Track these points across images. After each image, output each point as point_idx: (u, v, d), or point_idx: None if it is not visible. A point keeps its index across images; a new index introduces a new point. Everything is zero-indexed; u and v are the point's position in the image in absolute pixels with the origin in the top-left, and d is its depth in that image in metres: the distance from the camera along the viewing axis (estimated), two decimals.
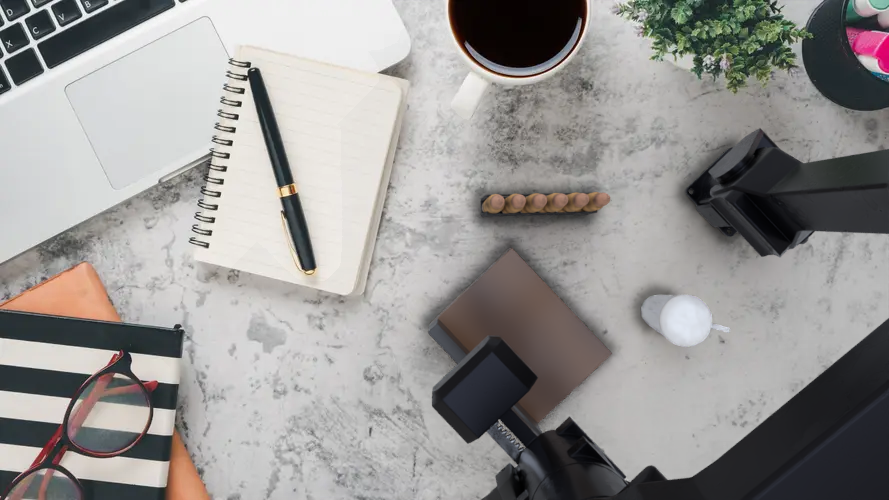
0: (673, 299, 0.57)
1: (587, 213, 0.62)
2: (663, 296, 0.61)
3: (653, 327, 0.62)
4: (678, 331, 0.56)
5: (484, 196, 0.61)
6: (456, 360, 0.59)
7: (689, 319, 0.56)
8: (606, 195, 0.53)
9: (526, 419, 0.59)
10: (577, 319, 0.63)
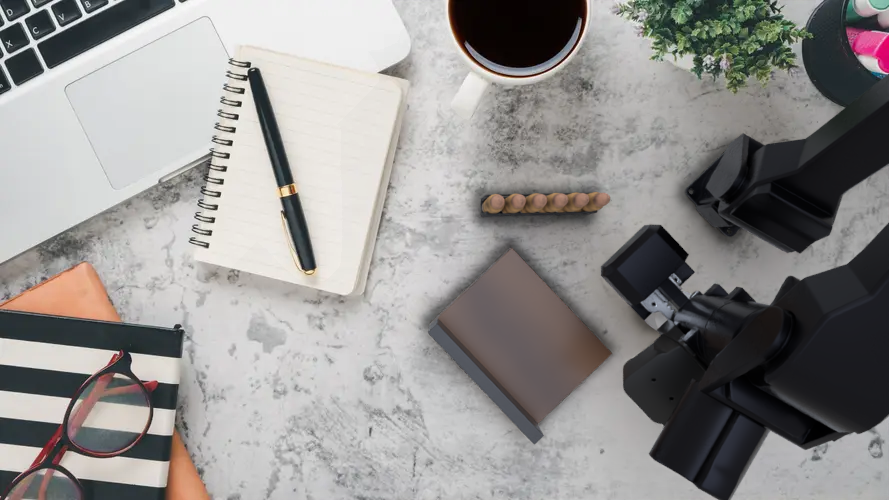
0: None
1: (587, 213, 0.62)
2: None
3: (652, 326, 0.62)
4: None
5: (484, 196, 0.61)
6: (456, 360, 0.59)
7: None
8: (606, 195, 0.53)
9: (526, 419, 0.59)
10: (577, 319, 0.63)
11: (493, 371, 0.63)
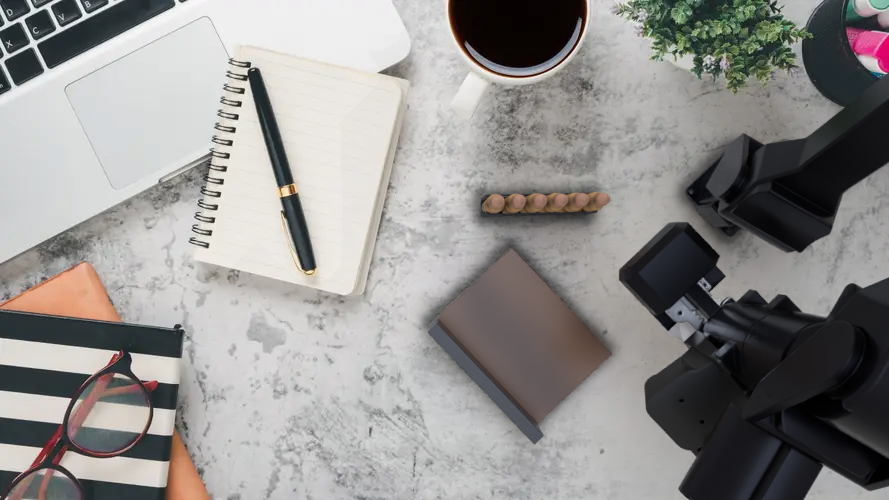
0: None
1: (587, 213, 0.62)
2: None
3: (674, 335, 0.56)
4: None
5: (484, 196, 0.61)
6: (456, 360, 0.59)
7: None
8: (606, 195, 0.53)
9: (526, 419, 0.59)
10: (577, 319, 0.63)
11: (493, 371, 0.63)
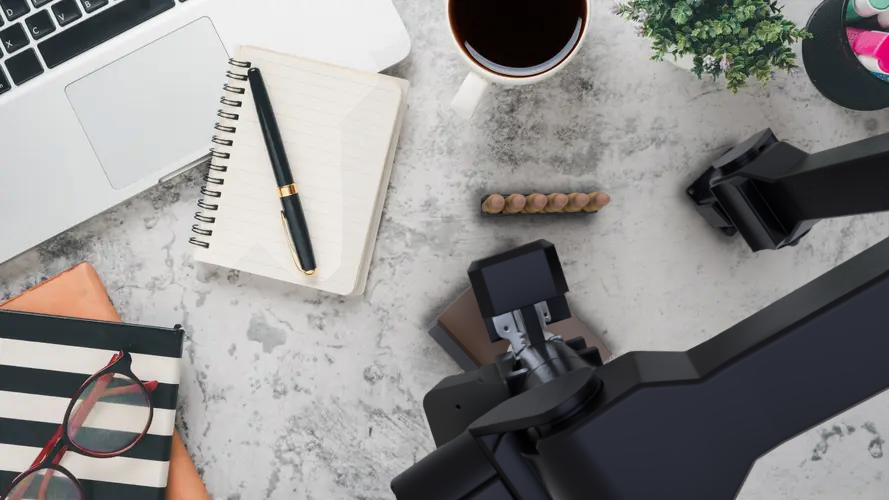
0: None
1: (587, 213, 0.62)
2: None
3: None
4: None
5: (484, 196, 0.61)
6: (456, 360, 0.59)
7: None
8: (606, 195, 0.53)
9: None
10: (577, 319, 0.63)
11: None
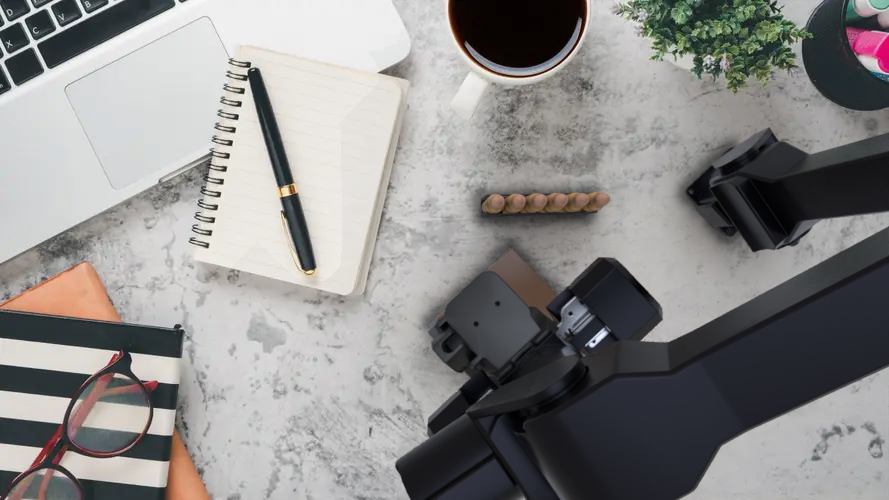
0: None
1: (587, 213, 0.62)
2: None
3: None
4: None
5: (484, 196, 0.61)
6: None
7: None
8: (606, 195, 0.53)
9: None
10: None
11: None
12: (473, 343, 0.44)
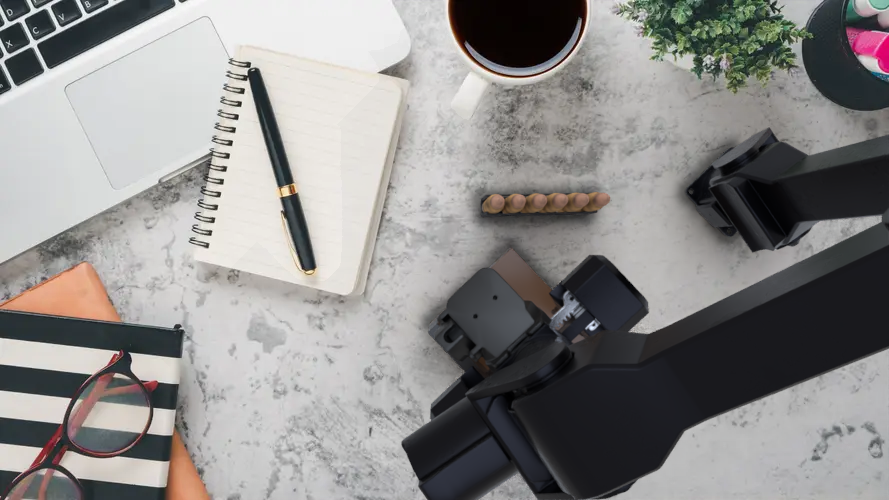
0: None
1: (587, 213, 0.62)
2: None
3: None
4: None
5: (484, 196, 0.61)
6: (456, 360, 0.59)
7: None
8: (606, 195, 0.53)
9: None
10: None
11: None
12: (473, 334, 0.48)
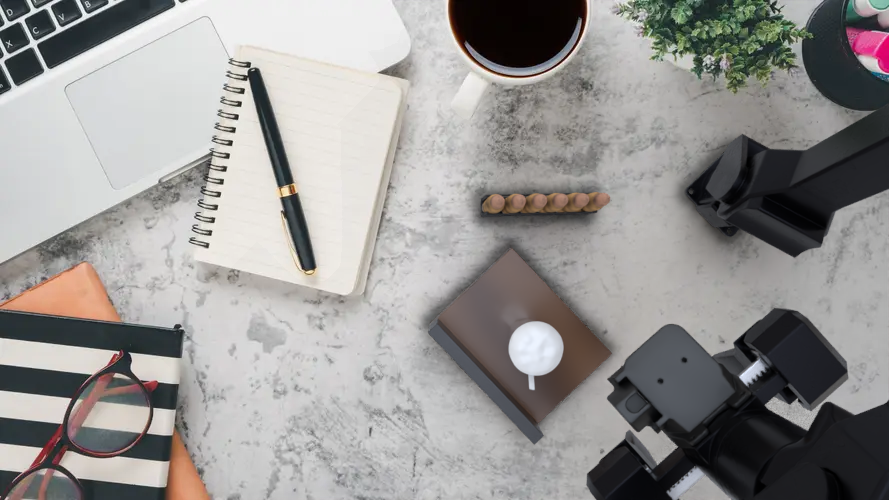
0: (558, 334, 0.55)
1: (587, 213, 0.62)
2: None
3: (514, 326, 0.60)
4: (527, 338, 0.54)
5: (484, 196, 0.61)
6: (456, 360, 0.59)
7: (540, 349, 0.54)
8: (606, 195, 0.53)
9: (526, 419, 0.59)
10: (577, 319, 0.63)
11: (493, 371, 0.63)
12: (658, 402, 0.41)
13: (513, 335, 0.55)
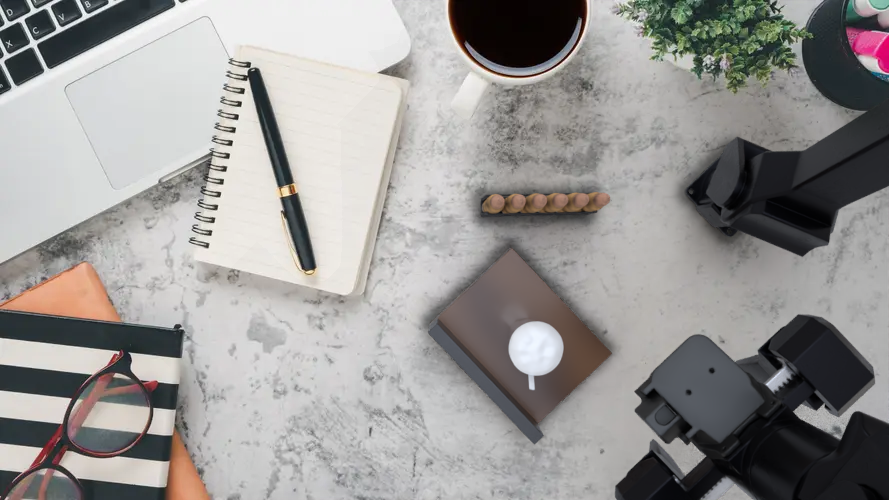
0: (558, 334, 0.55)
1: (587, 213, 0.62)
2: None
3: (514, 326, 0.60)
4: (527, 338, 0.54)
5: (484, 196, 0.61)
6: (456, 360, 0.59)
7: (540, 349, 0.54)
8: (606, 195, 0.53)
9: (526, 419, 0.59)
10: (577, 319, 0.63)
11: (493, 371, 0.63)
12: (687, 413, 0.41)
13: (513, 335, 0.55)
